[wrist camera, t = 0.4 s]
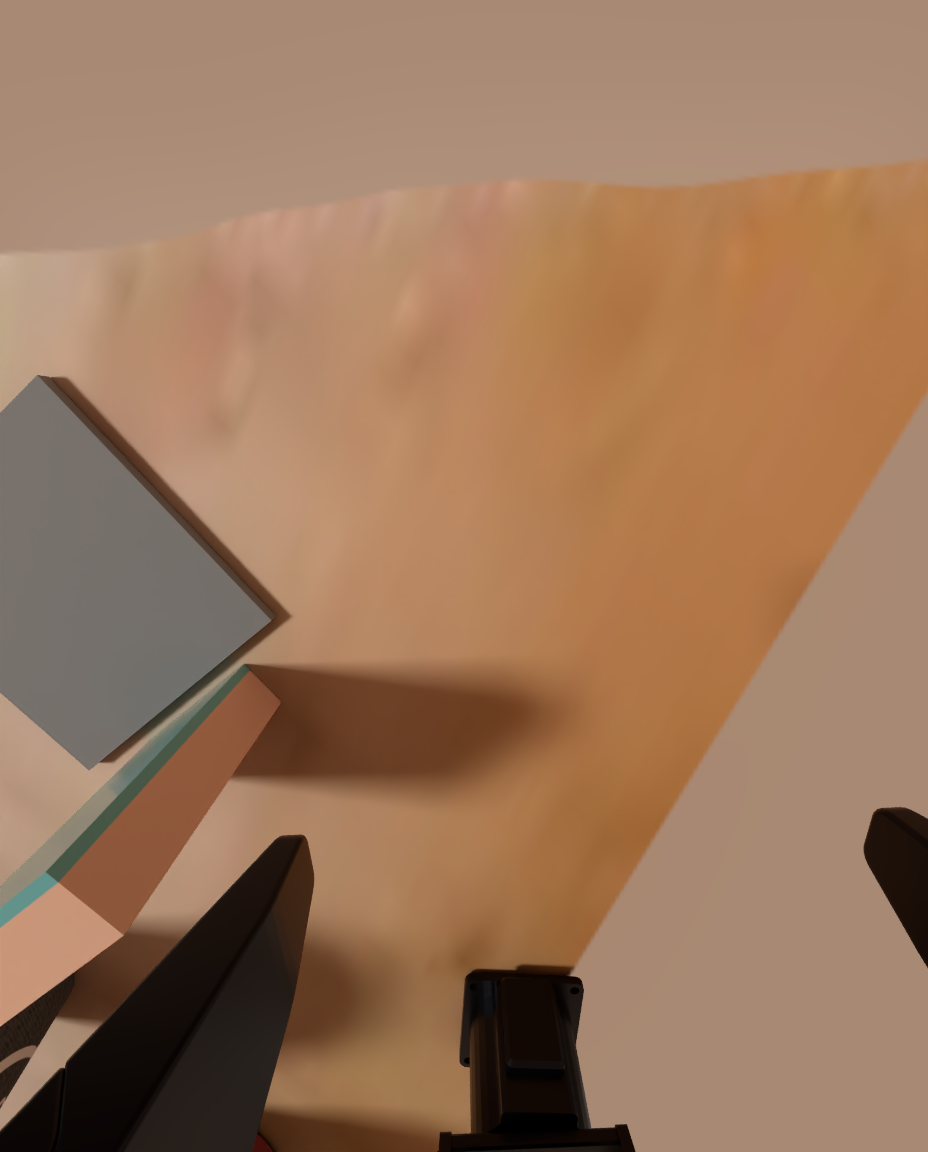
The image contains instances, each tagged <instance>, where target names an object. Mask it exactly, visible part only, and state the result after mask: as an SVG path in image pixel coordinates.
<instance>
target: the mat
mask: <svg viewBox="0 0 928 1152" xmlns="http://www.w3.org/2000/svg"><path fill="white" fill-rule="evenodd" d="M275 617H276V616H275V614H274V613H273V612H272V611H271V610H270V609H269V608H268V607H267V606H266V605H265V604H264V603H263V602H262V601H261V600H260V599H259V598H258V597H257V596H256V594H255V593H254V592H253V591H252V590H251V589H250V588H249V587H248V586H247V585H246V584H245V583H244V582H243V581H242V580H241V579H240V578H239V577H238V575H237V574H236V573H235V572H234V571H233V570H232V569H231V568H230V567H229V566H228V565H227V564H226V563H225V562H224V561H223V560H222V559H221V558H220V557H219V555H218V554H217V553H216V552H215V551H214V550H213V549H212V548H211V547H210V546H209V545H208V544H207V543H206V542H205V541H204V540H203V539H202V538H201V537H200V535H199V534H198V533H197V532H196V531H195V530H194V529H193V528H192V527H191V526H190V525H189V524H188V523H187V522H186V521H185V520H184V519H183V518H182V516H181V515H180V514H179V513H178V512H177V511H176V510H175V509H174V508H173V507H172V506H171V505H170V504H169V503H168V502H167V501H166V500H165V499H164V498H163V496H162V495H161V494H160V493H159V492H158V491H157V490H156V489H155V488H154V487H153V486H152V485H151V484H150V483H149V482H148V481H147V480H146V479H145V477H144V476H143V475H142V474H141V473H140V472H139V471H138V470H137V469H136V468H135V467H134V466H133V465H132V464H131V463H130V462H129V461H128V460H127V459H126V457H125V456H124V455H123V454H122V453H121V452H120V451H119V450H118V449H117V448H116V447H115V446H114V445H113V444H112V443H111V442H110V441H109V440H108V438H107V437H106V436H105V435H104V434H103V433H102V432H101V431H100V430H99V429H98V428H97V427H96V426H95V425H94V424H93V423H92V422H91V421H90V420H89V418H88V417H87V416H86V415H85V414H84V413H83V412H82V411H81V410H80V409H79V408H78V407H77V406H76V405H75V404H74V403H73V402H72V401H71V400H70V398H69V397H68V396H67V395H66V394H65V393H64V392H63V391H62V390H61V389H60V388H59V387H58V386H57V385H56V384H55V383H54V382H53V381H52V379H51V378H50V377H47V376H40V375H37V376H36V377H35V378H34V379H33V380H32V381H31V382H30V383H29V384H28V385H27V386H26V387H25V388H24V389H23V390H22V391H21V392H20V393H19V394H18V395H17V396H16V397H15V398H14V399H13V400H12V402H11V403H10V404H9V405H8V406H7V407H6V408H5V409H4V410H3V411H2V412H1V413H0V693H1V694H3V695H4V696H5V697H6V698H7V699H8V700H9V701H11V702H12V703H13V704H14V705H15V706H16V707H17V708H19V709H20V710H21V711H22V712H23V713H24V714H25V715H27V716H28V717H29V718H30V719H31V720H32V721H33V722H35V723H36V724H37V725H38V726H39V727H40V728H41V729H43V730H44V731H45V732H46V733H47V734H48V735H49V736H51V737H52V738H53V739H54V740H55V741H56V742H57V743H58V744H60V745H61V746H62V747H63V748H64V749H65V750H66V751H68V752H69V753H70V754H71V755H72V756H73V757H74V758H76V759H77V760H78V761H79V762H80V763H81V764H82V765H84V766H85V767H86V768H87V769H88V770H90V769H91V768H93V767H94V766H95V765H96V764H98V763H99V762H100V761H101V760H102V759H104V758H105V757H106V756H107V755H108V754H110V753H111V752H112V751H113V750H115V749H116V748H117V747H118V746H119V745H121V744H122V743H123V742H124V741H126V740H127V739H128V738H129V737H130V736H132V735H133V734H134V733H135V732H136V731H138V730H139V729H140V728H141V727H143V726H144V725H145V724H146V723H147V722H149V721H150V720H151V719H152V718H154V717H155V716H156V715H157V714H158V713H160V712H161V711H162V710H163V709H164V708H166V707H167V706H168V705H169V704H171V703H172V702H173V701H174V700H175V699H177V698H178V697H179V696H180V695H182V694H183V693H184V692H185V691H186V690H188V689H189V688H190V687H191V686H192V685H194V684H195V683H196V682H197V681H199V680H200V679H201V678H202V677H203V676H205V675H206V674H207V673H208V672H210V671H211V670H212V669H213V668H214V667H216V666H217V665H218V664H219V663H220V662H222V661H223V660H224V659H225V658H227V657H228V656H229V655H230V654H231V653H233V652H234V651H235V650H236V649H238V648H239V647H240V646H241V645H242V644H244V643H245V642H246V641H247V640H248V639H250V638H251V637H252V636H253V635H255V634H256V633H257V632H258V631H259V630H261V629H262V628H263V627H264V626H266V625H267V624H268V623H269V622H270V621H272V620H273V619H274V618H275Z"/></svg>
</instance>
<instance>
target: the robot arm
mask: <svg viewBox="0 0 928 1152" xmlns="http://www.w3.org/2000/svg"><path fill="white" fill-rule="evenodd" d="M864 855H865V859H866V861H867V863H868V865H869V867H870V869H871V871H872V873H873V874H874V876H875V878H876V880H877V881H878V883H879V885H880V886H881V888H882V890H883V891H884V894H885V895H886V897H887V898H888V900H889V902H890V904H891V906H892V907H893V909H894V911H895V913H896V914H897V916H898V918H899V919H900V921H901V923H902V925H903V927H904V928H905V930H906V932H907V933H908V935H909V937H910V939H911V941H912V942H913V944H914V946H915V948H916V949H917V951H918V953H919V954H920V956H921V958H922V959H923V961H924V963H925V964H926V966H927V967H928V819H927V818H925V817H924V816H922V815H920V814H918V813H916V812H914V811H912V810H910V809H907V808H902V807H894V808H880V809H877V810H876V811H875V812H874V813H873V815H872V819H871V822H870V826H869V829H868V832H867V836H866V839H865V843H864ZM313 888H314V870H313V865H312V860H311V855H310V851H309V846H308V841H307V839H306V837H305V836H304V835H284V836H280V837H278V838H277V839H276V840H274V842H273V843H272V844H271V845H270V846H269V847H268V848H267V849H266V850H265V851H264V852H263V853H262V854H261V855H260V856H259V857H258V859H257V860H256V861H255V862H254V863H253V864H252V865H251V866H250V867H249V868H248V869H247V870H246V871H245V872H244V873H243V874H242V876H241V877H240V878H239V879H238V880H237V881H236V882H235V883H234V884H233V885H232V886H231V887H230V888H229V889H228V890H227V891H226V893H225V894H224V895H223V896H222V897H221V898H220V899H219V900H218V901H217V902H216V903H215V904H214V905H213V906H212V907H211V908H210V910H209V911H208V912H207V913H206V914H205V915H204V916H203V917H202V918H201V919H200V920H199V921H198V922H197V923H196V924H195V925H194V926H193V928H192V929H191V930H190V931H189V932H188V933H187V934H186V935H185V936H184V937H183V938H182V939H181V940H180V941H179V942H178V943H177V945H176V946H175V947H174V948H173V949H172V950H171V951H170V952H169V953H168V954H167V955H166V956H165V957H164V958H163V959H162V960H161V962H160V963H159V964H158V965H157V966H156V967H155V968H154V969H153V970H152V971H151V972H150V973H149V974H148V975H147V976H146V977H145V979H144V980H143V981H142V982H141V983H140V984H139V985H138V986H137V987H136V988H135V989H134V990H133V991H132V992H131V993H130V994H129V996H128V997H127V998H126V999H125V1000H124V1001H123V1002H122V1003H121V1004H120V1005H119V1006H118V1007H117V1008H116V1009H115V1010H114V1011H113V1013H112V1014H111V1015H110V1016H109V1017H108V1018H107V1019H106V1020H105V1021H104V1022H103V1023H102V1024H101V1025H100V1026H99V1027H98V1028H97V1030H96V1031H95V1032H94V1033H93V1034H92V1035H91V1036H90V1037H89V1038H88V1039H87V1040H86V1041H85V1042H84V1043H83V1044H82V1045H81V1047H80V1048H79V1049H78V1050H77V1051H76V1052H75V1053H74V1054H73V1055H72V1056H71V1057H70V1058H69V1059H68V1060H67V1062H66V1065H65V1068H60V1069H59V1070H58V1071H57V1072H56V1073H55V1074H54V1075H53V1076H52V1077H51V1078H50V1079H49V1080H48V1081H47V1082H46V1083H45V1084H44V1085H43V1087H42V1088H41V1089H40V1090H39V1091H38V1092H37V1093H36V1094H35V1095H34V1096H33V1097H32V1098H31V1099H30V1100H29V1101H28V1102H27V1103H26V1105H25V1106H24V1107H23V1108H22V1109H21V1110H20V1111H19V1112H18V1113H17V1114H16V1115H15V1116H14V1117H13V1118H12V1119H11V1120H10V1121H9V1122H8V1123H7V1124H6V1125H5V1126H4V1127H3V1128H2V1129H1V1130H0V1152H252V1151H253V1147H254V1143H255V1140H256V1136H257V1132H258V1129H259V1125H260V1121H261V1118H262V1114H263V1110H264V1107H265V1103H266V1100H267V1096H268V1092H269V1089H270V1085H271V1081H272V1078H273V1074H274V1070H275V1067H276V1063H277V1059H278V1056H279V1052H280V1049H281V1045H282V1041H283V1038H284V1034H285V1030H286V1027H287V1023H288V1019H289V1016H290V1012H291V1008H292V1004H293V1000H294V995H295V990H296V984H297V979H298V974H299V968H300V962H301V957H302V951H303V945H304V939H305V934H306V928H307V922H308V917H309V911H310V905H311V900H312V894H313ZM583 993H584V989H583V984H582V981H581V979H580V978H578V977H573V976H546V975H520V974H493V973H470V974H468V975H467V976H466V978H465V985H464V999H463V1012H462V1026H461V1039H460V1064H461V1065H462V1066H464V1067H470V1105H471V1134H452V1132H440V1140H439V1151H437V1152H635V1149H634V1145H633V1142H632V1139H631V1136H630V1133H629V1130H628V1126H627V1124H620V1125H615V1128H591V1124H590V1119H589V1114H588V1109H587V1103H586V1098H585V1092H584V1087H583V1082H582V1076H581V1071H580V1066H579V1061H578V1056H577V1050H576V1039H577V1033H578V1026H579V1020H580V1013H581V1006H582V999H583Z"/></svg>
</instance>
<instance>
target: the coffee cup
mask: <svg viewBox="0 0 928 1152" xmlns="http://www.w3.org/2000/svg"><path fill="white" fill-rule="evenodd" d="M73 983H74V973H72V974H71V975H69V976H68V977H67V978H65V979H64V980H63V981H61V982H60V983H59V984H57V985H56V986H55V987H53V988H52V989H50V990H49V991H48V992H46V993H45V994H44V995H42V996H41V997H40V998H38V999H37V1000H36V1001H34V1002H33V1003H31V1004H30V1005H29V1006H27V1007H26V1008H25V1009H23V1010H22V1011H21V1012H19V1013H18V1014H17V1015H15V1016H14V1017H12V1018H11V1019H10V1020H8V1021H7V1022H6V1023H4V1024H3V1025H2V1026H0V1108H1V1107H2V1105H3V1103H4V1102H5V1100H6V1098H7V1097H8V1095H9V1093H10V1092H11V1090H12V1088H13V1087H14V1085H15V1084H16V1082H17V1080H18V1079H19V1077H20V1075H21V1074H22V1072H23V1070H24V1069H25V1067H26V1065H27V1064H28V1062H29V1060H30V1059H31V1057H32V1055H33V1054H34V1052H35V1050H36V1049H37V1047H38V1046H39V1044H40V1042H41V1041H42V1039H43V1037H44V1036H45V1034H46V1032H47V1031H48V1029H49V1027H50V1026H51V1024H52V1022H53V1021H54V1019H55V1017H56V1016H57V1014H58V1013H59V1011H60V1009H61V1008H62V1006H63V1004H64V1003H65V1001H66V999H67V998H68V996H69V994H70V992H71V990H72V987H73Z"/></svg>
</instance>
